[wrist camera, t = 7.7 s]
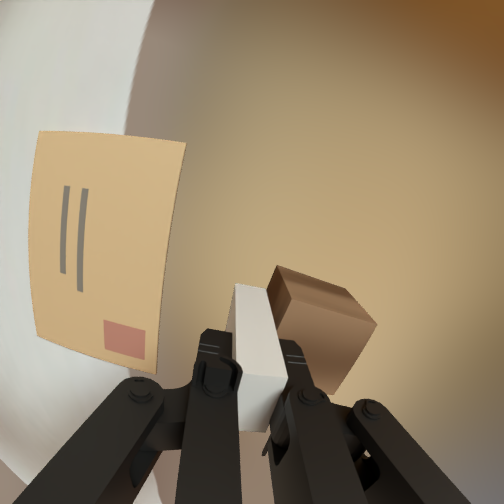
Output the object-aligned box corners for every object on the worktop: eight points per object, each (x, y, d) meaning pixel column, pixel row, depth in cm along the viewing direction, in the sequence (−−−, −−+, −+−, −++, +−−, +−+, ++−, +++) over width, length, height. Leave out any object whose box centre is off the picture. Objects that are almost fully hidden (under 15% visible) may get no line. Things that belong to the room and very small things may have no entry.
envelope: (41, 131, 14) (38, 131, 13) (187, 143, 15) (186, 142, 15) (38, 333, 18) (37, 335, 17) (156, 372, 19) (155, 374, 19)
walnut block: (276, 264, 17) (291, 298, 13) (345, 288, 18) (377, 324, 13) (248, 331, 18) (252, 379, 14) (313, 349, 19) (333, 395, 14)
